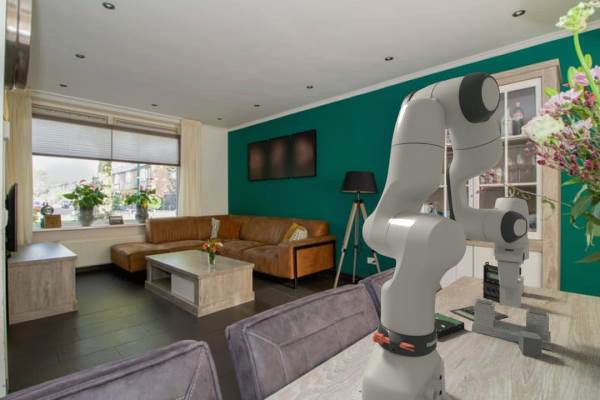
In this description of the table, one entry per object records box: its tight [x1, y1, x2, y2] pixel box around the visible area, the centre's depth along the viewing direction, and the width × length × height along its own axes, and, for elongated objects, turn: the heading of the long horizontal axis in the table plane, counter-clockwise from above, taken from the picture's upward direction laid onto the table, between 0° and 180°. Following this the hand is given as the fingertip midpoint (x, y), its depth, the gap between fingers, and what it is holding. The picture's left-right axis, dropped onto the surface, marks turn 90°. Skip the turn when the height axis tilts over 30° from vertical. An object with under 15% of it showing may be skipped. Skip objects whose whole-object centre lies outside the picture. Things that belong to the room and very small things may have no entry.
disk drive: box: [434, 312, 465, 340], centre depth 96 cm, size 10×3×15 cm
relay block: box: [518, 331, 543, 359], centre depth 81 cm, size 4×4×5 cm
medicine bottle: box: [518, 266, 525, 297], centre depth 131 cm, size 7×7×12 cm
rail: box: [471, 298, 552, 351], centre depth 90 cm, size 6×19×9 cm, turn 51°
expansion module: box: [499, 281, 522, 309], centre depth 90 cm, size 4×5×7 cm
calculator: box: [449, 305, 509, 323], centre depth 107 cm, size 12×1×15 cm
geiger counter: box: [482, 261, 500, 304], centre depth 121 cm, size 10×4×15 cm, turn 21°
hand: (510, 296), depth 90 cm, fingers closed on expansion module, 4 cm apart
